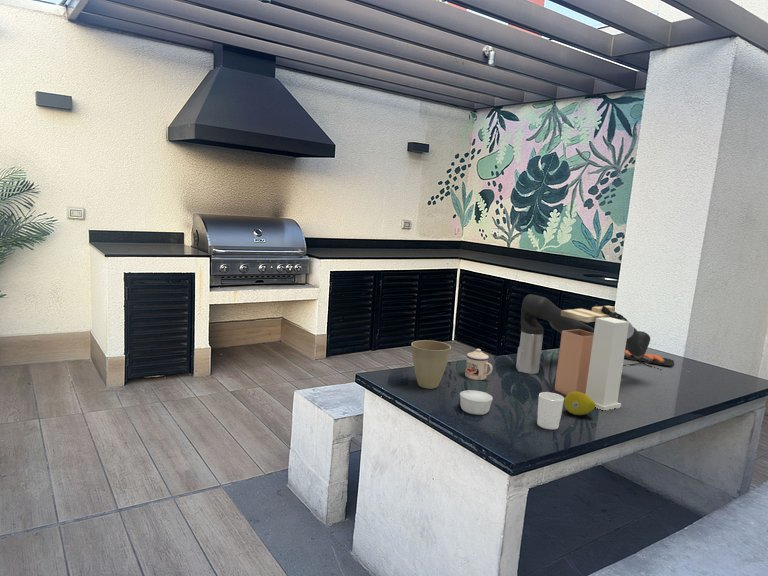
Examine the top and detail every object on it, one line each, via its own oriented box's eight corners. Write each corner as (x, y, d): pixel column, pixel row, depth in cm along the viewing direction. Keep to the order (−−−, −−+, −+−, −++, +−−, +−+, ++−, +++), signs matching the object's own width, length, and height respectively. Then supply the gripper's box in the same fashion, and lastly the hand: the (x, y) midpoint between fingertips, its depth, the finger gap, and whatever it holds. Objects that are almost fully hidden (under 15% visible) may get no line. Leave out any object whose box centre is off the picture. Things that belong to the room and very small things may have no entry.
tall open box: (571, 387, 224) (579, 329, 220) (592, 395, 216) (600, 335, 212) (554, 390, 219) (562, 330, 215) (574, 398, 211) (583, 336, 207)
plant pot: (436, 378, 222) (440, 339, 220) (453, 391, 208) (457, 350, 206) (402, 380, 217) (405, 340, 214) (417, 393, 203) (421, 350, 201)
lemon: (557, 411, 196) (560, 389, 194) (569, 407, 201) (572, 386, 199) (585, 422, 187) (588, 399, 186) (597, 417, 192) (600, 395, 191)
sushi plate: (674, 363, 278) (675, 356, 277) (668, 377, 252) (670, 369, 251) (612, 351, 292) (613, 344, 292) (601, 363, 267) (602, 355, 266)
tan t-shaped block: (598, 311, 226) (599, 303, 226) (624, 318, 216) (625, 309, 216) (560, 315, 215) (561, 306, 214) (586, 322, 205) (587, 313, 204)
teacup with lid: (459, 375, 228) (462, 348, 227) (473, 372, 235) (476, 345, 233) (483, 383, 220) (486, 355, 218) (497, 380, 226) (500, 352, 224)
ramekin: (469, 401, 199) (470, 387, 198) (497, 410, 192) (498, 396, 191) (452, 409, 190) (453, 394, 189) (480, 419, 183) (482, 403, 182)
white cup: (543, 431, 177) (547, 401, 175) (530, 421, 184) (534, 392, 183) (565, 430, 179) (569, 400, 178) (551, 420, 187) (555, 391, 185)
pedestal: (597, 398, 213) (609, 316, 208) (620, 407, 205) (633, 322, 200) (580, 401, 208) (591, 317, 203) (603, 411, 199) (615, 323, 194)
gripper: (609, 315, 232) (588, 295, 223) (639, 322, 220) (618, 302, 211) (601, 330, 231) (580, 311, 222) (631, 339, 219) (610, 319, 210)
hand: (599, 307), depth 217 cm, fingers closed on tan t-shaped block, 3 cm apart
